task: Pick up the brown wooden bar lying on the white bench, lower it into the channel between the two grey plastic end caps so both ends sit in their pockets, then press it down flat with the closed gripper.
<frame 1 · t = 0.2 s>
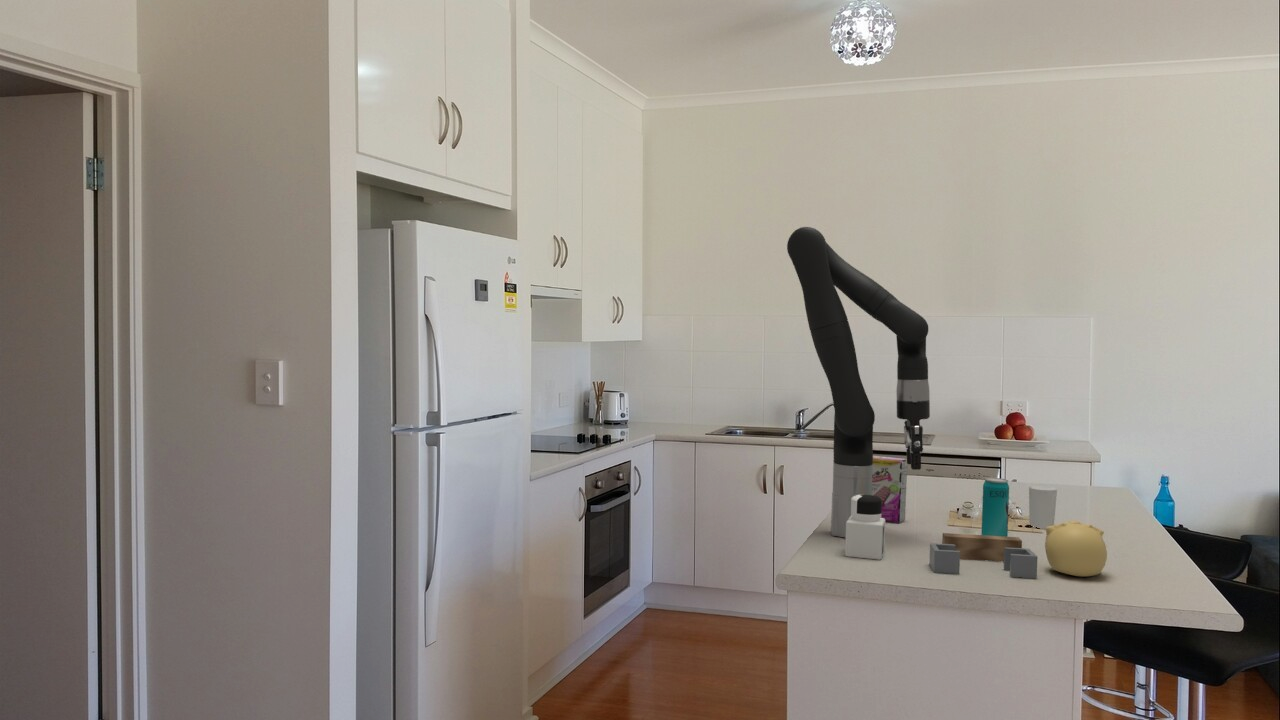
hand: (913, 466, 228), 17 cm above the countertop, tool pointing down, fingers open, 8 cm apart
sculpture: (1074, 574, 199), on the countertop
container: (864, 555, 212), on the countertop
candy bar box: (881, 520, 251), on the countertop
drinking glass: (1041, 527, 246), on the countertop
endcap 1: (944, 568, 200), on the countertop
beverage can: (994, 543, 226), on the countertop
endcap 2: (1019, 573, 198), on the countertop
brown wooden bar: (980, 559, 210), on the countertop
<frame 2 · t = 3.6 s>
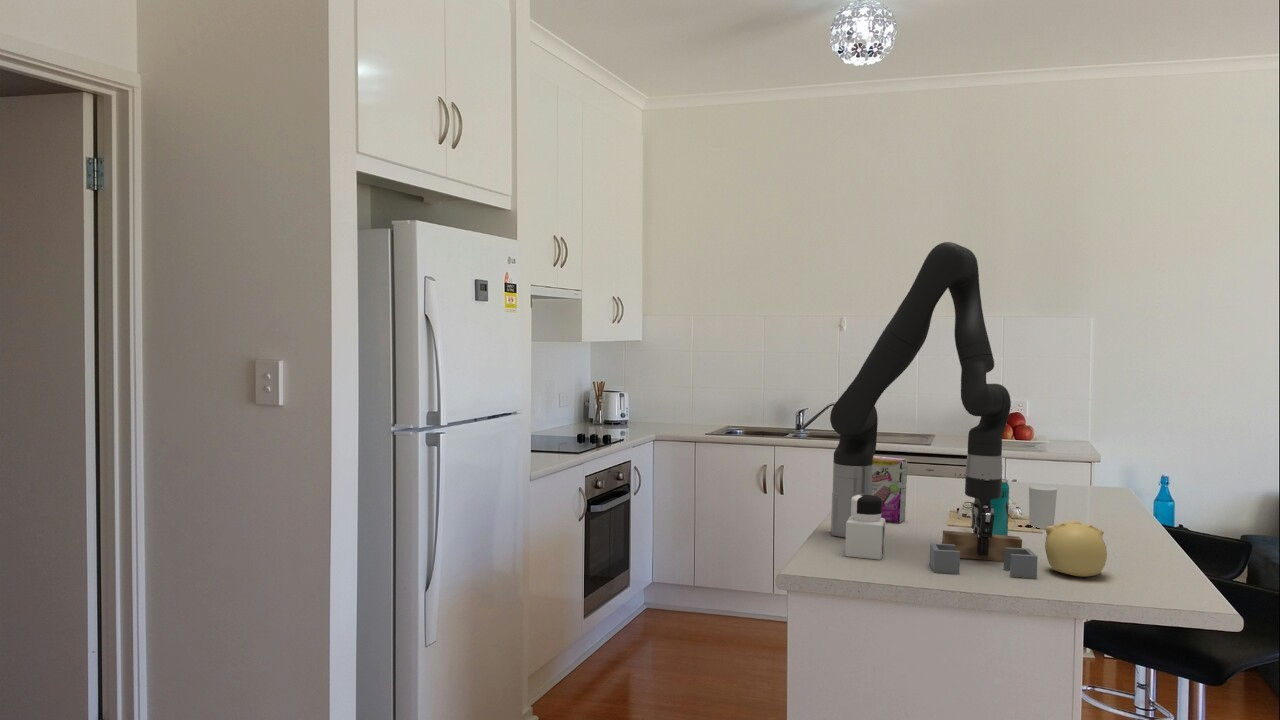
hand: (980, 552, 210), 1 cm above the countertop, tool pointing down, fingers closed on brown wooden bar, 3 cm apart
brown wooden bar: (980, 557, 210), on the countertop, touching gripper
everything else where it was.
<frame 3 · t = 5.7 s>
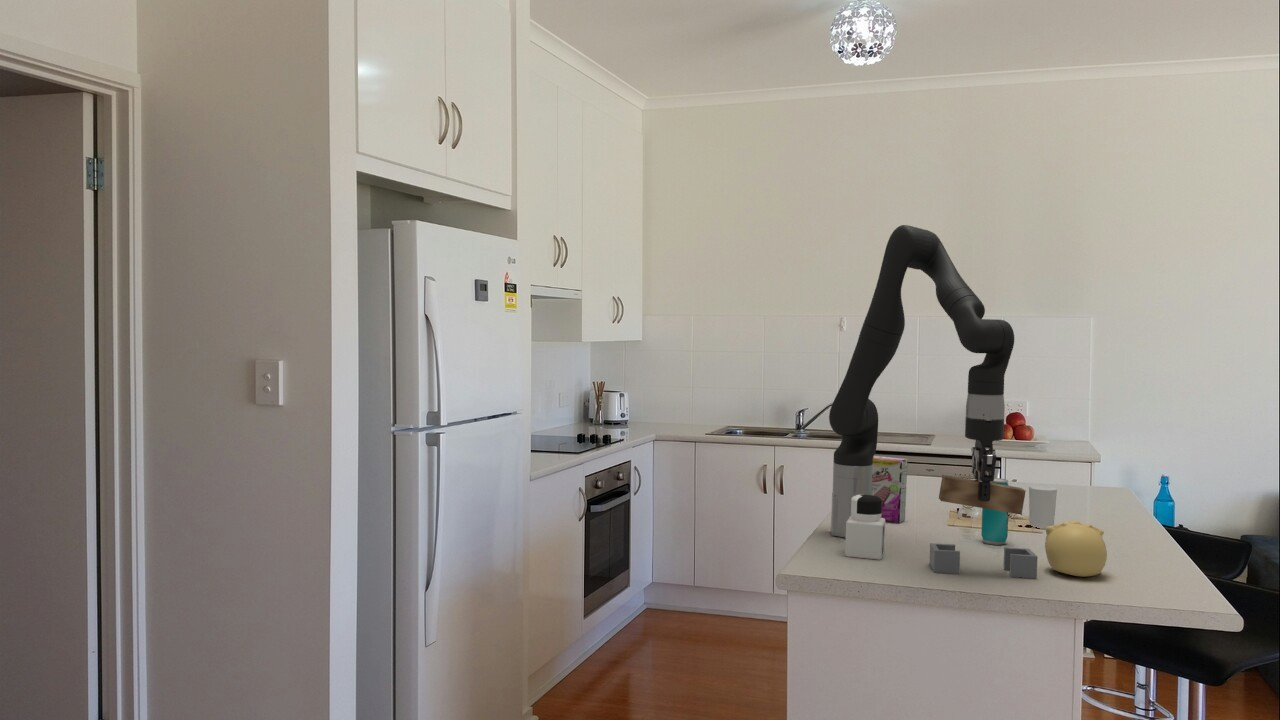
hand: (982, 498, 199), 15 cm above the countertop, tool pointing down, fingers closed on brown wooden bar, 3 cm apart
brown wooden bar: (979, 506, 199), point 13 cm above the countertop, tilted 7°, touching gripper
everything else where it was.
when the fingers open (3 cm above the countertop, at t = 8.2 s): brown wooden bar drops 1 cm, on the countertop.
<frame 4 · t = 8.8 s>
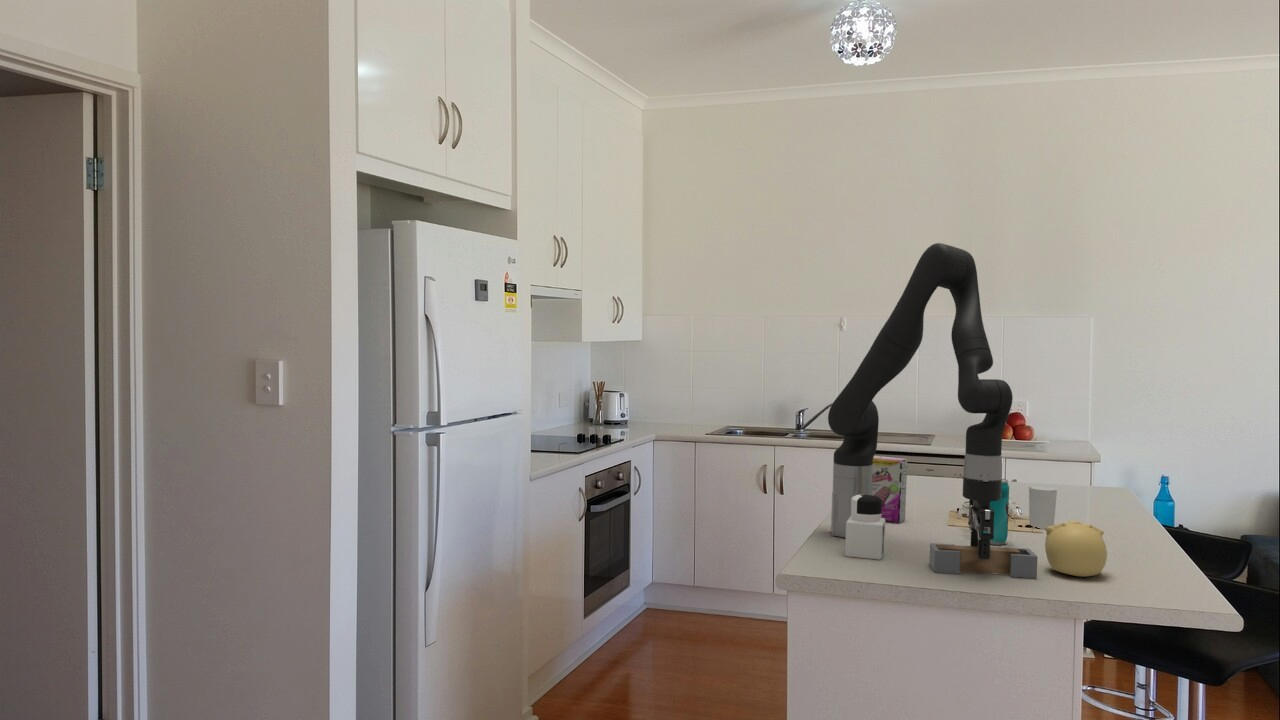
hand: (979, 553, 199), 4 cm above the countertop, tool pointing down, fingers open, 8 cm apart
brown wooden bar: (976, 572, 199), on the countertop
everything else where it was.
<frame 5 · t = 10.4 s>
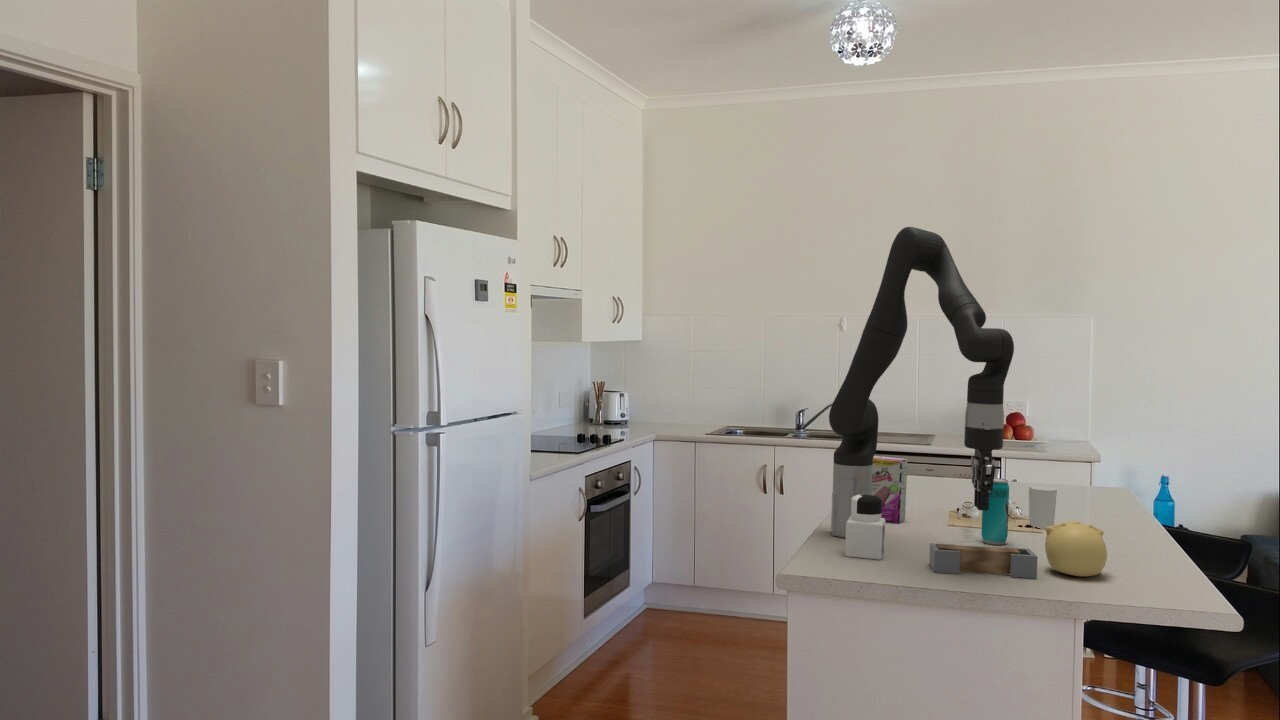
hand: (981, 508, 199), 13 cm above the countertop, tool pointing down, fingers closed
nothing on the countertop moved.
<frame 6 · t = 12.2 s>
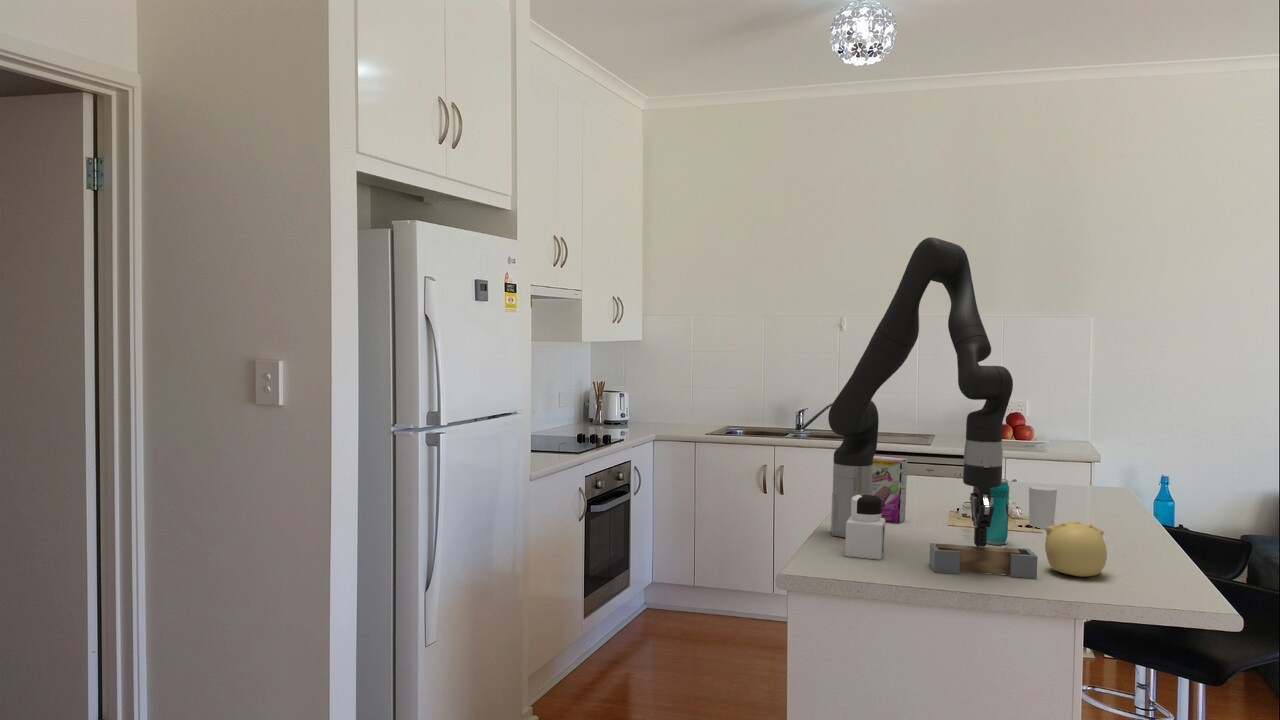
hand: (980, 545, 199), 5 cm above the countertop, tool pointing down, fingers closed
nothing on the countertop moved.
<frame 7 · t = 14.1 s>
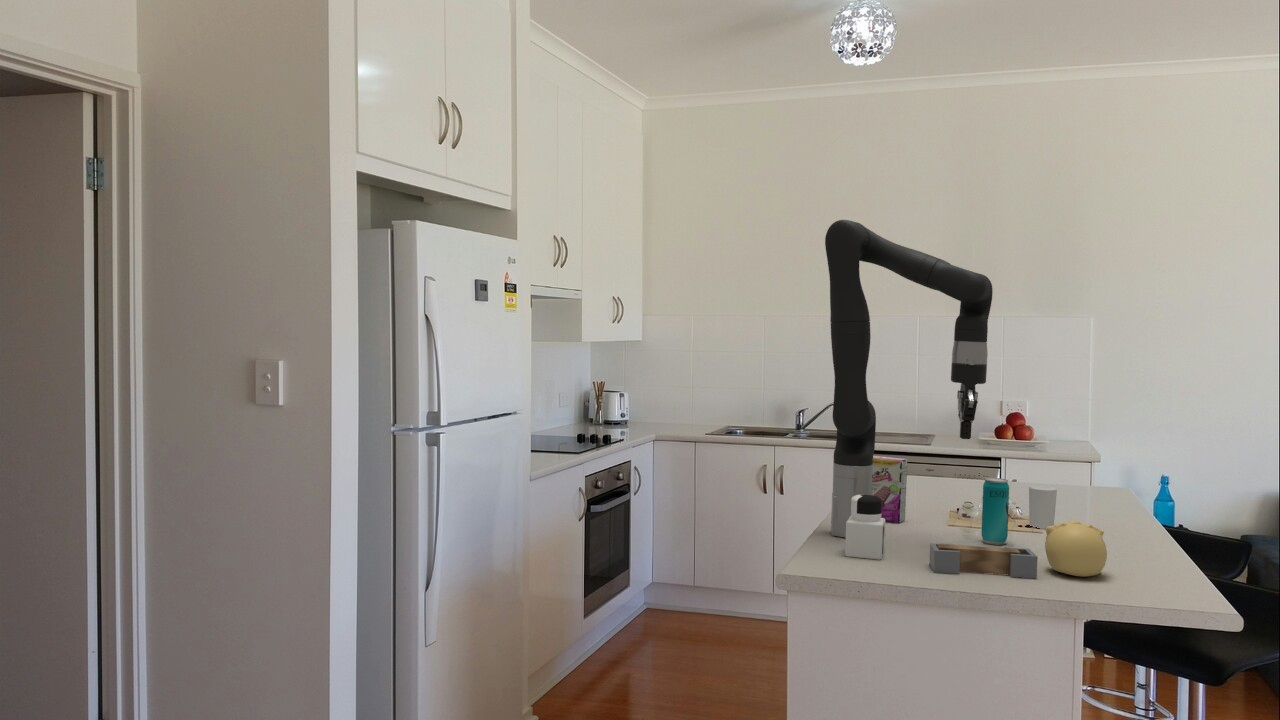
hand: (965, 438, 216), 25 cm above the countertop, tool pointing down, fingers closed
nothing on the countertop moved.
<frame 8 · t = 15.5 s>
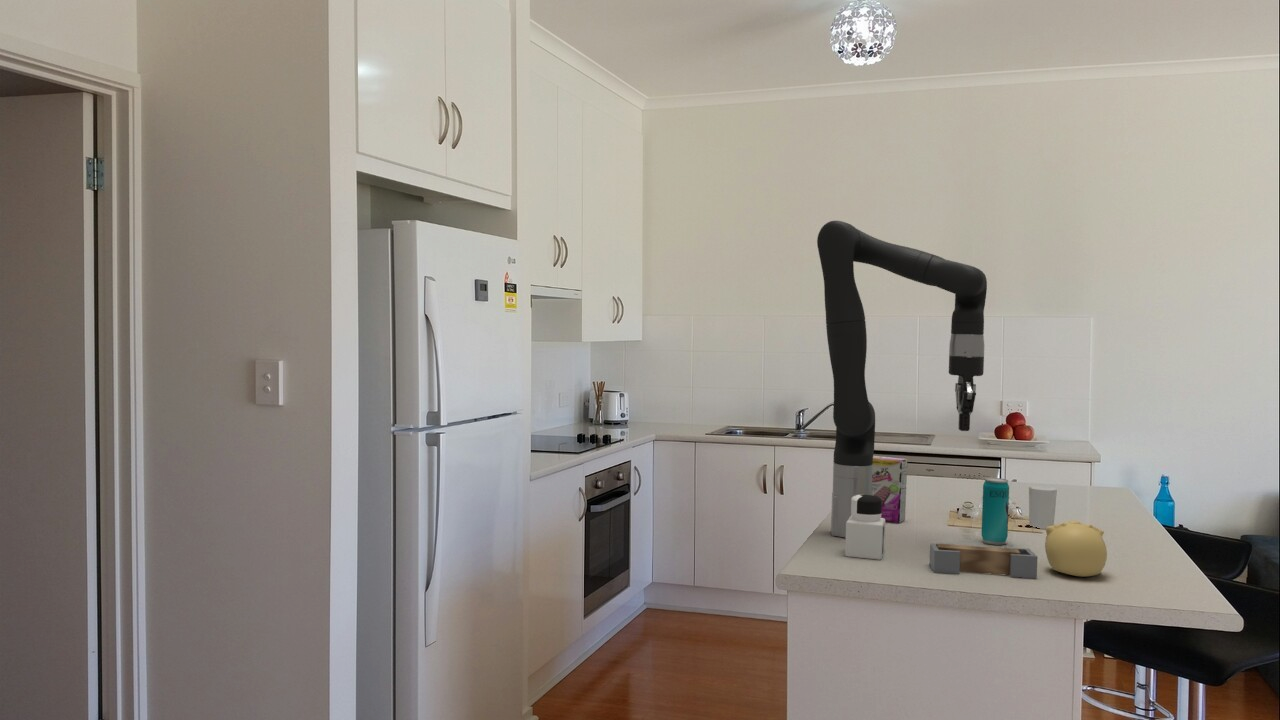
hand: (963, 430, 219), 27 cm above the countertop, tool pointing down, fingers closed
nothing on the countertop moved.
at the end: brown wooden bar 0.4 cm from the target spot, on the countertop; brown wooden bar tilted 0°; the gripper is holding nothing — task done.
